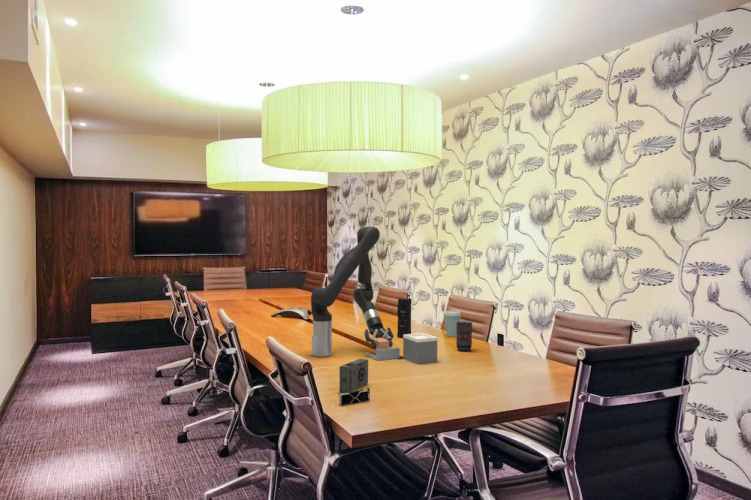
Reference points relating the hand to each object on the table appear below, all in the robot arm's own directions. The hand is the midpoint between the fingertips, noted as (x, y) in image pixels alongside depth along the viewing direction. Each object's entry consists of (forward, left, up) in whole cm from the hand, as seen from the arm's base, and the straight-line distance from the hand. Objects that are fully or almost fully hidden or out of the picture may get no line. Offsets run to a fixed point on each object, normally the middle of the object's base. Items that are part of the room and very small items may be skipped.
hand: (383, 347), depth 261 cm
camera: (-35, -43, -5) cm, 56 cm away
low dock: (0, +1, -5) cm, 5 cm away
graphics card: (-42, -60, -5) cm, 73 cm away
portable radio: (+35, +42, -5) cm, 55 cm away
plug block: (0, +1, -5) cm, 5 cm away
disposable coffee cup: (+63, +33, -5) cm, 71 cm away
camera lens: (+45, -4, -5) cm, 45 cm away
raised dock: (+13, -13, -5) cm, 19 cm away
